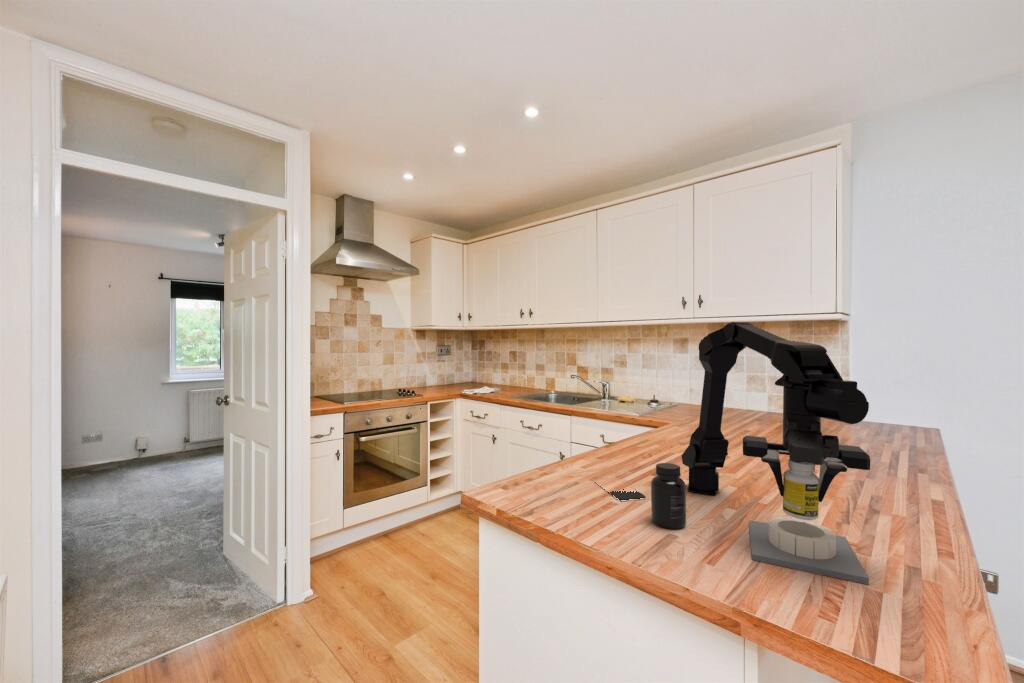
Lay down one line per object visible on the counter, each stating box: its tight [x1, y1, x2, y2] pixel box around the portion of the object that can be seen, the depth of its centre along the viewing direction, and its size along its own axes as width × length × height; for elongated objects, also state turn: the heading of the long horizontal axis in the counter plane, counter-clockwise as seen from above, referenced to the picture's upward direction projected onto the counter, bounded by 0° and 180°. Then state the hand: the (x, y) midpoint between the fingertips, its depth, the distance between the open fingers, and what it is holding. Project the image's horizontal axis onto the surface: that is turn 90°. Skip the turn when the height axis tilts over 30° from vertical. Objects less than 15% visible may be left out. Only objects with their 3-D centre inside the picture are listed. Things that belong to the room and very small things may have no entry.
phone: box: [610, 489, 646, 500], centre depth 109 cm, size 7×1×15 cm
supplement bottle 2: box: [782, 458, 819, 521], centre depth 78 cm, size 5×5×10 cm
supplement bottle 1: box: [650, 462, 687, 530], centre depth 89 cm, size 7×7×12 cm
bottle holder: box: [748, 516, 870, 585], centre depth 78 cm, size 16×16×4 cm
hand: (800, 498), depth 78 cm, fingers closed on supplement bottle 2, 5 cm apart
